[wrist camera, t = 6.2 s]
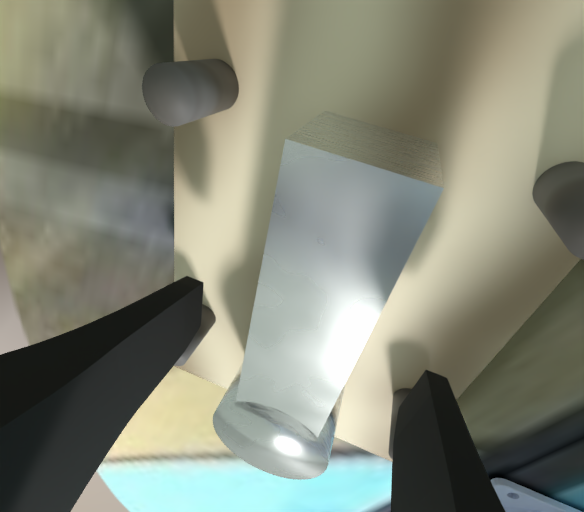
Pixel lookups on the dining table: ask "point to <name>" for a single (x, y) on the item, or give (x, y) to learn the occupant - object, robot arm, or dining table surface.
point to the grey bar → (324, 284)
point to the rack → (395, 116)
